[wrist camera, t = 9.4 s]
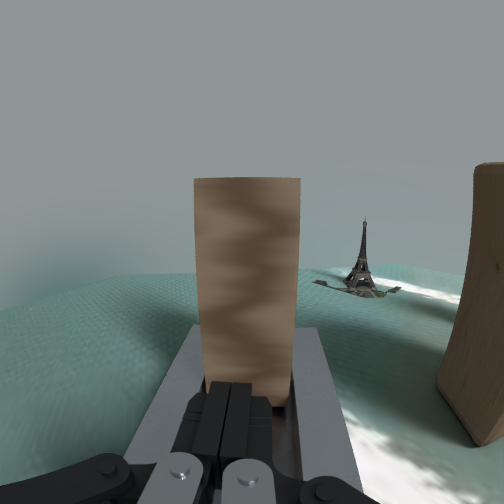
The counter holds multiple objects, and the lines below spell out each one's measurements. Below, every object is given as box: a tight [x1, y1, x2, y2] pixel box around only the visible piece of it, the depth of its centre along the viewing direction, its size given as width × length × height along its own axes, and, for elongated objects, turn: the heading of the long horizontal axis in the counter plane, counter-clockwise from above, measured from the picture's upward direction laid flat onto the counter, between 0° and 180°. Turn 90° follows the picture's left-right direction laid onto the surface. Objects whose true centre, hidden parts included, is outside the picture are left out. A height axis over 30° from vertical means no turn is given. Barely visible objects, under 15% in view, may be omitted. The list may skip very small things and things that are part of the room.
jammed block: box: [194, 177, 300, 407], centre depth 20 cm, size 6×6×16 cm
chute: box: [123, 324, 364, 504], centre depth 17 cm, size 14×24×3 cm, turn 177°
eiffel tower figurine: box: [313, 221, 402, 298], centre depth 48 cm, size 15×10×13 cm
